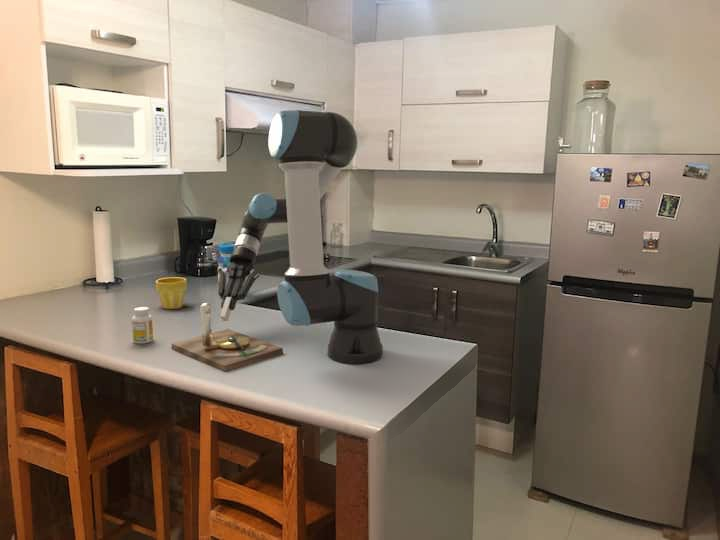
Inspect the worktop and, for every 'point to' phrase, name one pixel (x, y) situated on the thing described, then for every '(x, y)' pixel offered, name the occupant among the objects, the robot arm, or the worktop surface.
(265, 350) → the gauge board
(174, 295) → the plant pot
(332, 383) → the worktop surface
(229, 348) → the dial
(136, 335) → the supplement bottle
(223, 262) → the beverage bottle
